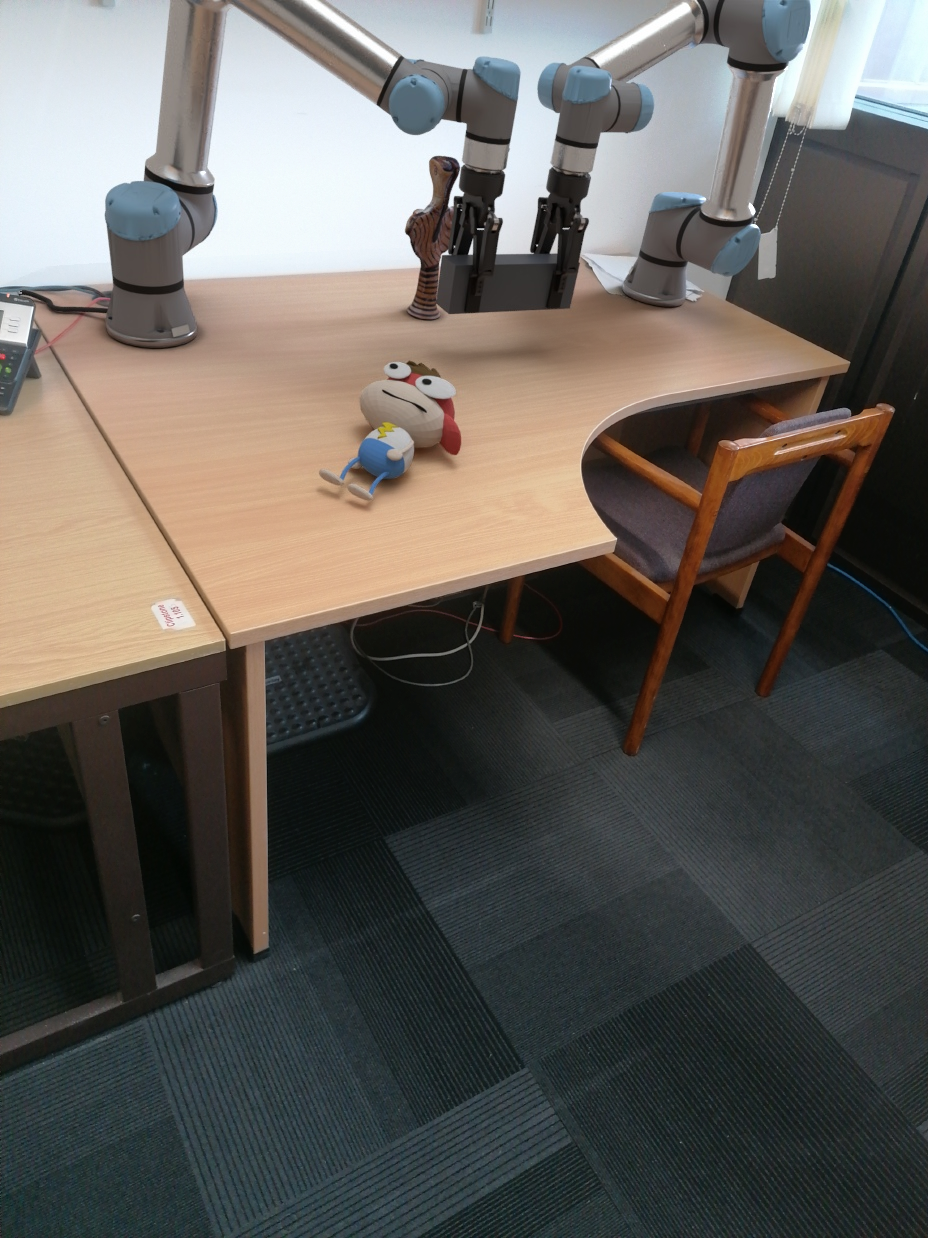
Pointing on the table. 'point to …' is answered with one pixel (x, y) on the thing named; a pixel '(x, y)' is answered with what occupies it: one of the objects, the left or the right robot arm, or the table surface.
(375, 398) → the toy
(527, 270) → the bar
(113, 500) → the table surface
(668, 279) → the right robot arm
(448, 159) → the figurine
